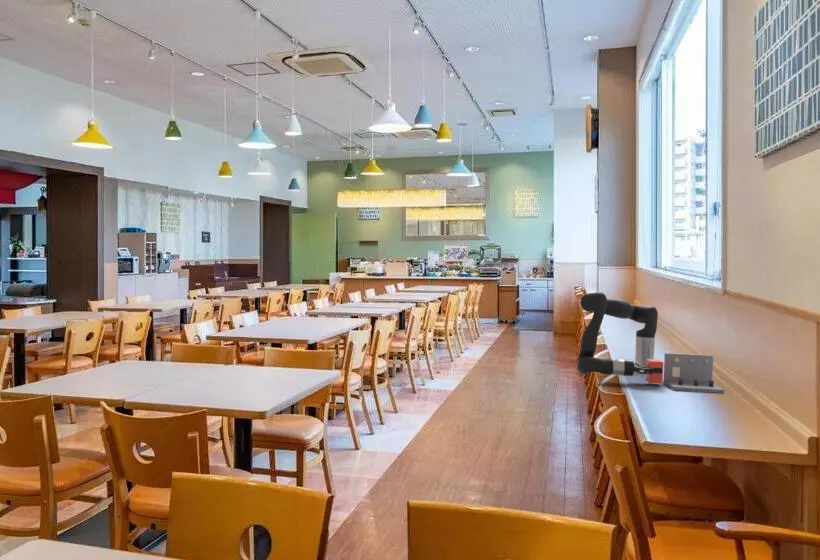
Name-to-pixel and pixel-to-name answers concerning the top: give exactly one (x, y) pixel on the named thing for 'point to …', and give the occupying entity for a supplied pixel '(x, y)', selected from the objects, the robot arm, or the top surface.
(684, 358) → the grey peg stand
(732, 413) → the top surface
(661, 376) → the tall coral upright block
